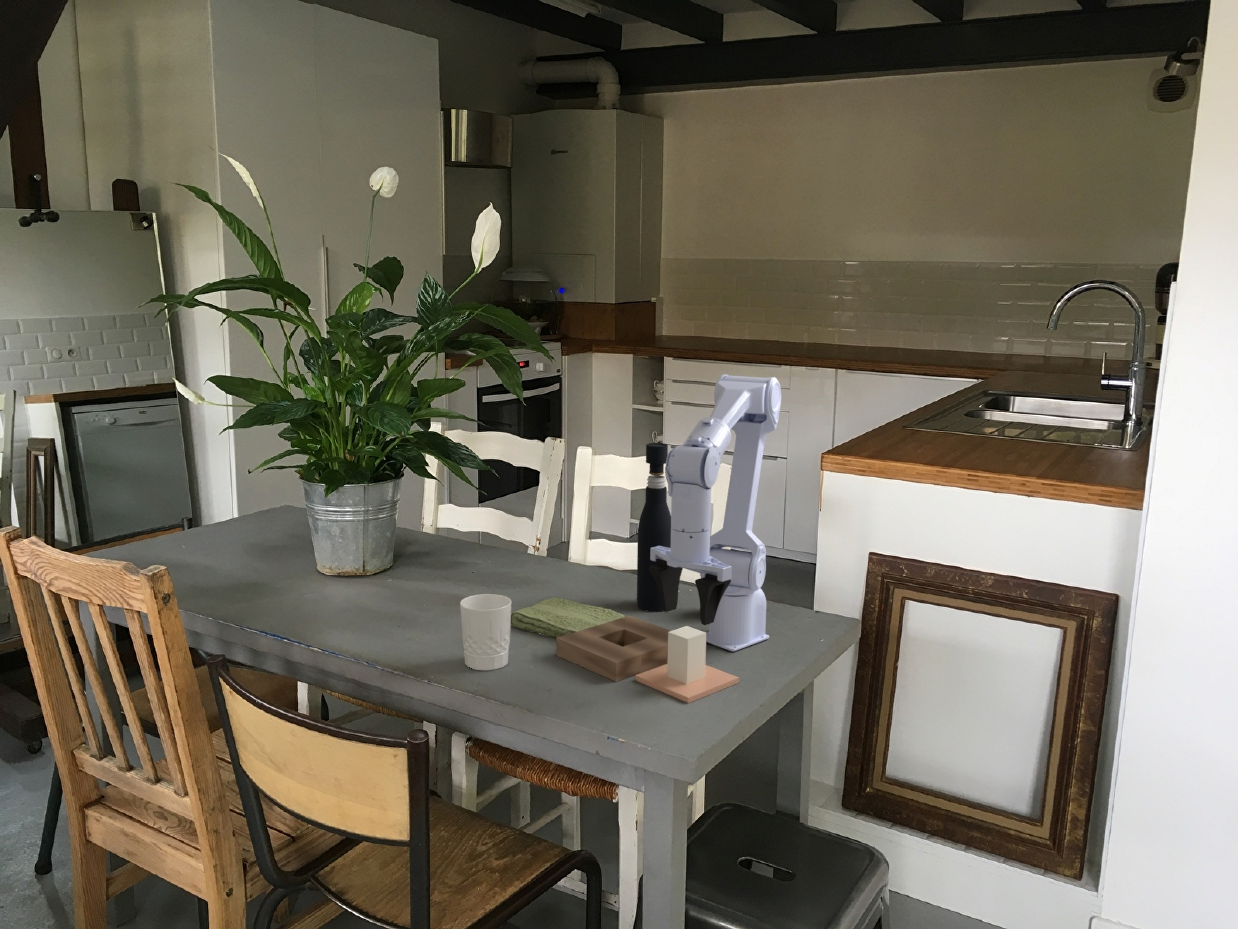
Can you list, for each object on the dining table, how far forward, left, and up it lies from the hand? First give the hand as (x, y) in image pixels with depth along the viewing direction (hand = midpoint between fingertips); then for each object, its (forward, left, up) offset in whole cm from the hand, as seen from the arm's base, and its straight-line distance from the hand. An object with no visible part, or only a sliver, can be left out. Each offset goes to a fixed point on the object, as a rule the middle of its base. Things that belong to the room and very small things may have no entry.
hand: (688, 616), depth 154 cm
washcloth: (-2, -30, -11) cm, 32 cm away
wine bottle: (-21, -28, -10) cm, 37 cm away
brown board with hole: (0, -14, -10) cm, 17 cm away
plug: (0, 0, -9) cm, 9 cm away
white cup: (+18, -26, -10) cm, 33 cm away
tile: (0, 0, -10) cm, 10 cm away
